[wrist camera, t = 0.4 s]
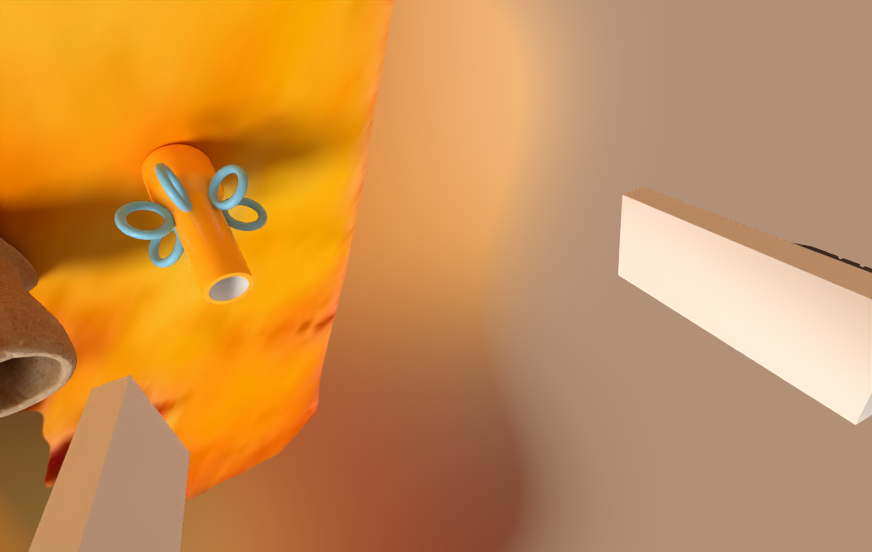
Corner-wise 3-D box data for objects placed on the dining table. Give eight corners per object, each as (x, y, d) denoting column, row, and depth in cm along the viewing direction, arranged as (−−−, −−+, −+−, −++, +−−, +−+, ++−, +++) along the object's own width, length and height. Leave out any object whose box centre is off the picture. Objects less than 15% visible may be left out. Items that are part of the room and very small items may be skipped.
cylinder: (251, 125, 43) (314, 236, 37) (235, 205, 50) (287, 310, 44) (94, 115, 35) (142, 254, 29) (100, 211, 42) (141, 342, 36)
